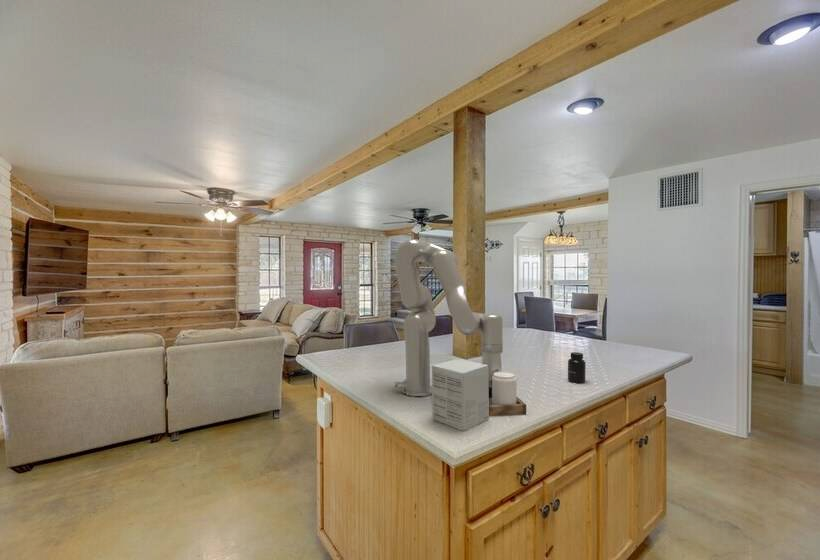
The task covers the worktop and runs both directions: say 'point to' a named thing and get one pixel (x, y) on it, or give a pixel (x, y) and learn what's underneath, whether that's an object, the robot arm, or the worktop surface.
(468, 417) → the supplement box
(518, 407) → the bay
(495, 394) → the white lidded jar
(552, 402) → the worktop surface
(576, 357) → the supplement bottle
